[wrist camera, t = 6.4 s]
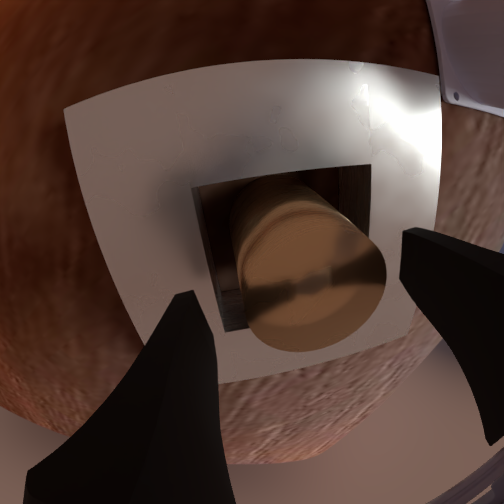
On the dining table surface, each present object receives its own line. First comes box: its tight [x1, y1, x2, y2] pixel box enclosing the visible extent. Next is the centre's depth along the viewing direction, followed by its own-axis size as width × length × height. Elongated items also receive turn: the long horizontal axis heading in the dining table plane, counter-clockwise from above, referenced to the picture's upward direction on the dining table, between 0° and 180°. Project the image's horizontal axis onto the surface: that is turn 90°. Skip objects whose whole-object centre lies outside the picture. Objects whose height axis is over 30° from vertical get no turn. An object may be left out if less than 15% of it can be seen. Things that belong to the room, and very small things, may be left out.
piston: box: [229, 175, 387, 352], centre depth 10 cm, size 4×4×6 cm
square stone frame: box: [64, 59, 442, 384], centre depth 12 cm, size 14×14×3 cm
